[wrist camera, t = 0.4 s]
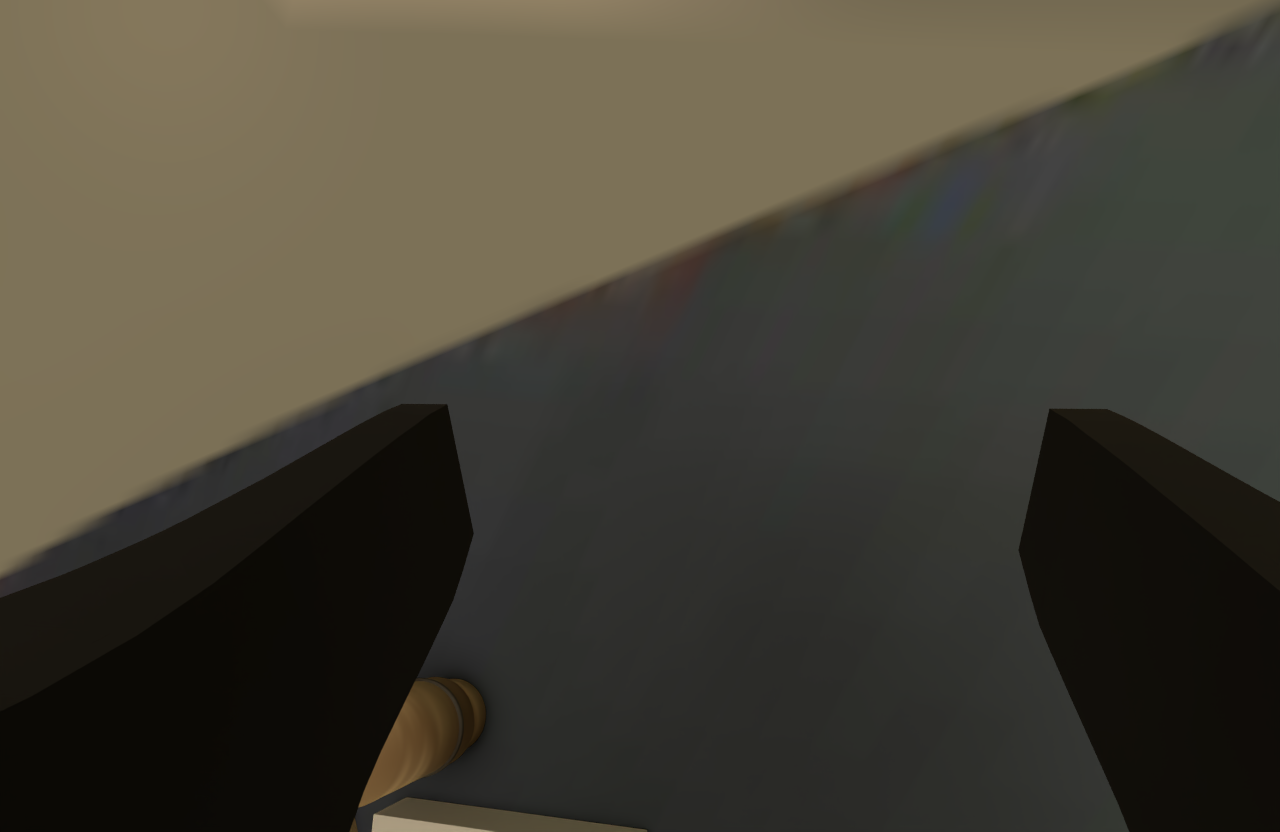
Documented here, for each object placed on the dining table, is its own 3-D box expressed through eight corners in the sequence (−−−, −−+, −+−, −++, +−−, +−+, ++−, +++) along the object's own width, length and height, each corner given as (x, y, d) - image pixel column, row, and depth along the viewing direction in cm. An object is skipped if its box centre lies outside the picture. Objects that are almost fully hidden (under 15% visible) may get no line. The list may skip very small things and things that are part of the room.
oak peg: (489, 765, 38) (393, 818, 30) (409, 755, 39) (294, 803, 31) (497, 674, 39) (406, 700, 31) (419, 666, 40) (309, 690, 32)
